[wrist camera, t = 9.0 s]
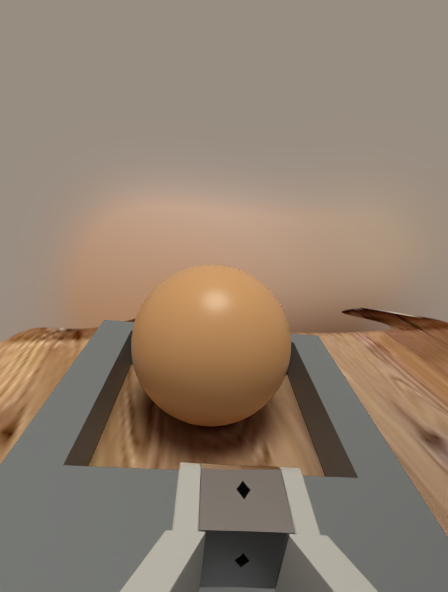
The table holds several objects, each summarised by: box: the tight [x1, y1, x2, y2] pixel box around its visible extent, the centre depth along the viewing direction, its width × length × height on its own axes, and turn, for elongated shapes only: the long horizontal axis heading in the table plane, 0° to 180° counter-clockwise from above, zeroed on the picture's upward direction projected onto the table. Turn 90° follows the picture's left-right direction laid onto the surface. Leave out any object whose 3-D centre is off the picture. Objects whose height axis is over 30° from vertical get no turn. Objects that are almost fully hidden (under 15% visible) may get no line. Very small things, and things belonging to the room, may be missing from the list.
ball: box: [131, 265, 291, 426], centre depth 21 cm, size 10×10×10 cm
